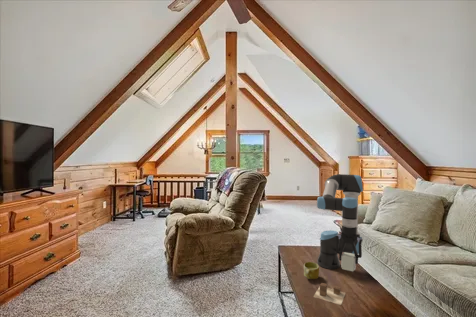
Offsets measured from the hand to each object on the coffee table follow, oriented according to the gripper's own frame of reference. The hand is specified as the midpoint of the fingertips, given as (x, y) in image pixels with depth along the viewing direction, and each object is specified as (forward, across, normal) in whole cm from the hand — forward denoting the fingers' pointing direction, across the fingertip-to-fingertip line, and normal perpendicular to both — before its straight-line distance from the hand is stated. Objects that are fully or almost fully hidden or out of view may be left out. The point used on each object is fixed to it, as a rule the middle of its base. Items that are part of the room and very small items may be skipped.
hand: (348, 267), depth 143 cm
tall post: (+14, -11, -10) cm, 20 cm away
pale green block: (0, 0, 0) cm, 0 cm away
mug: (+15, -23, +8) cm, 28 cm away
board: (+15, -8, -8) cm, 19 cm away
